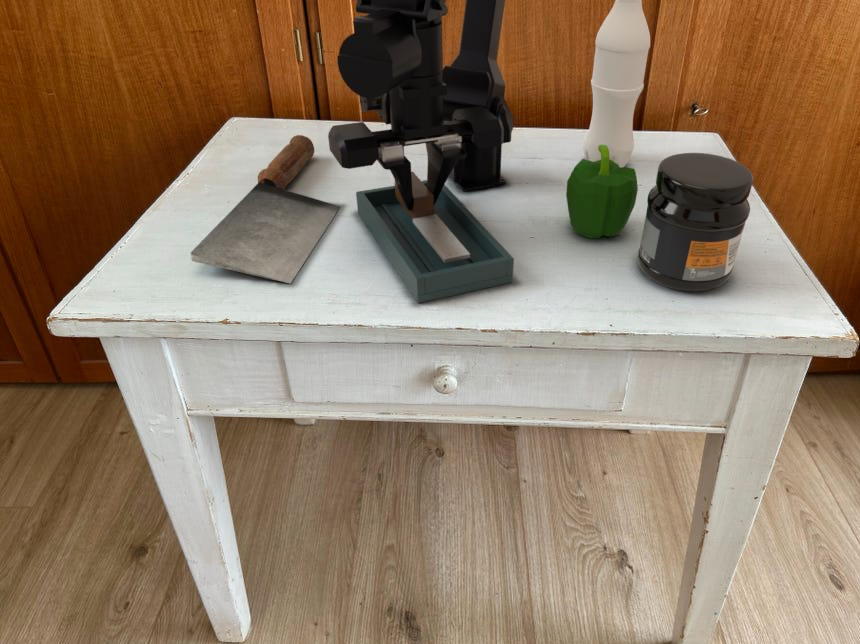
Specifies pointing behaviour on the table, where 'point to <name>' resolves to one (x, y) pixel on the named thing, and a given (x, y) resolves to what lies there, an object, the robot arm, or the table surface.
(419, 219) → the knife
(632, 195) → the bell pepper
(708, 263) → the supplement container
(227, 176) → the table surface
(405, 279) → the tray
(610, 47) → the water bottle
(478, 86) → the robot arm
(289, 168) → the meat cleaver
